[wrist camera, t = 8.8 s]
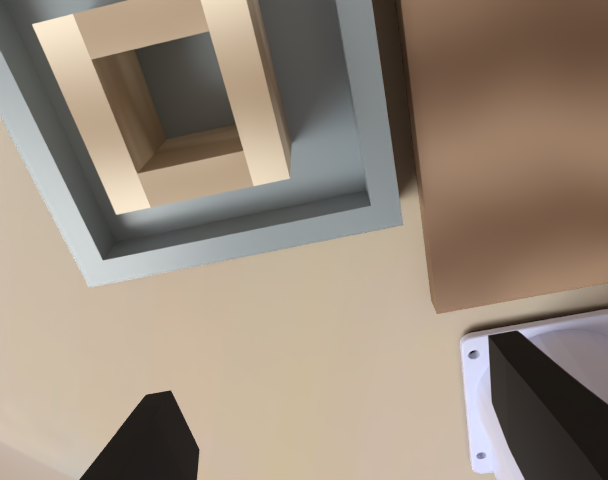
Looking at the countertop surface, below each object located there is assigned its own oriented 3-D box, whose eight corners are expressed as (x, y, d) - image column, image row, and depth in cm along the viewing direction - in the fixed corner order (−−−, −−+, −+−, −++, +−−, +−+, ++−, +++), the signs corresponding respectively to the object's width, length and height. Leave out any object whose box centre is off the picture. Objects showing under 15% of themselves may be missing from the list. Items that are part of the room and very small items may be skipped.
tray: (393, 202, 19) (403, 225, 17) (107, 260, 20) (88, 287, 18) (336, -185, 13) (342, -210, 12) (-54, -73, 15) (-103, -81, 13)
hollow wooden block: (291, 143, 17) (290, 178, 14) (148, 174, 18) (116, 214, 15) (252, -26, 15) (239, -29, 12) (86, 15, 15) (32, 24, 12)
